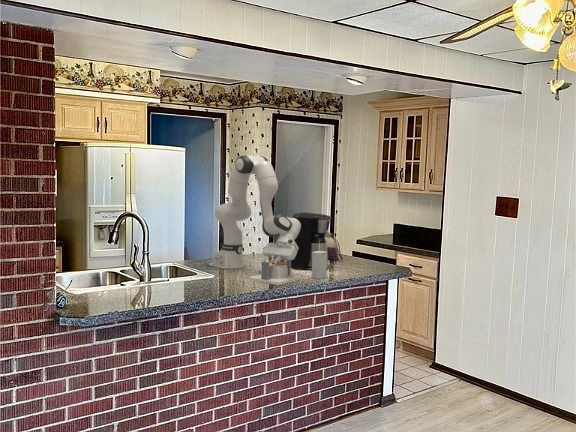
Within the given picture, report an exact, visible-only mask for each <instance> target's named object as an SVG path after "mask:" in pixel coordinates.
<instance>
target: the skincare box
mask: <svg viewBox="0 0 576 432" xmlns="http://www.w3.org/2000/svg"><path fill="white" fill-rule="evenodd" d="M327 265H328V262H327V252H326V251H315V252H312V270H311V278H312V279H318V280H322V279H325V278H327V277H328V276H327V274H328V268H327Z"/></svg>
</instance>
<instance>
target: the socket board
mask: <svg viewBox="0 0 576 432" xmlns="http://www.w3.org/2000/svg"><path fill="white" fill-rule="evenodd" d="M279 262H285V259H281V260H280V261H279ZM286 262H287V265H284V264H282V265H276V266H271V267H269V264H270V261H265V260H264V261H261V274H257V275H252V276H249V277H248V281H254V282H258V283H259V282H260V283H264V284H270V285H274V286H281V285H284V284H288V283H293V282H296V281H298V280H299V281H300V280H302V279H303V276H302V275H297V274H291V273H292V272H291V271H292V268H291V260H288V259H287V260H286Z"/></svg>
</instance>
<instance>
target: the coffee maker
mask: <svg viewBox="0 0 576 432" xmlns="http://www.w3.org/2000/svg"><path fill="white" fill-rule="evenodd" d="M292 218H295V219H297V220H298V221H299V222H300V224H301V229H300V232H299V234H298V236H297V238H296V239H295V240H294V241H295V243H296V244H297V246H298V248H299V249H298V251H297V254H296V256H295V258H294V259H293V260H291V269H292V270H293V269H294V270H302V271H312V252H315V251H326V252H327V243H326V240H325V237H324V236H325V234H326V233H327V232H328V233H329V227H330V223H331V220H332V217H331V216H330V215H327V214H321V213H315V212H298V213H295V214H293V215H292ZM328 261H329V259H328V252H327V263H328ZM279 262H280V261H278V262H277V263H279ZM284 265H287V264H284ZM328 268H329V265H328V264H327V269H328Z"/></svg>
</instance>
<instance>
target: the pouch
mask: <svg viewBox="0 0 576 432" xmlns="http://www.w3.org/2000/svg"><path fill="white" fill-rule="evenodd" d="M324 237H325V240H326V243H327V252H328V260H332V261H340V260H344V257H343V256H342V254H341V247H340V244H339V241H338V240H337V239H336V237H335V236H333V233H331V232H329V231H328V232H327V233H326V234H325V236H324Z"/></svg>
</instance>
